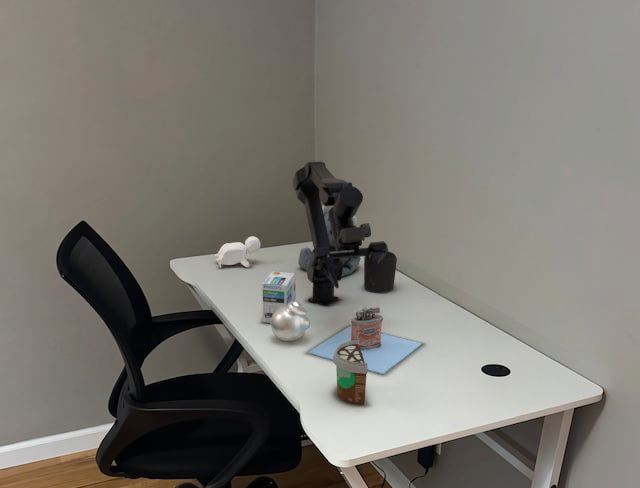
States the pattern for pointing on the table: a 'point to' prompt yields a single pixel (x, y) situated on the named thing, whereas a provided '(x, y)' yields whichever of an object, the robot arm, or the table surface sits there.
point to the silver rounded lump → (290, 321)
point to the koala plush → (348, 263)
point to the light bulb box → (277, 292)
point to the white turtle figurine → (237, 252)
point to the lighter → (367, 328)
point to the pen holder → (381, 274)
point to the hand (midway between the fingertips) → (355, 286)
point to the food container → (350, 372)
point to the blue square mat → (375, 358)
